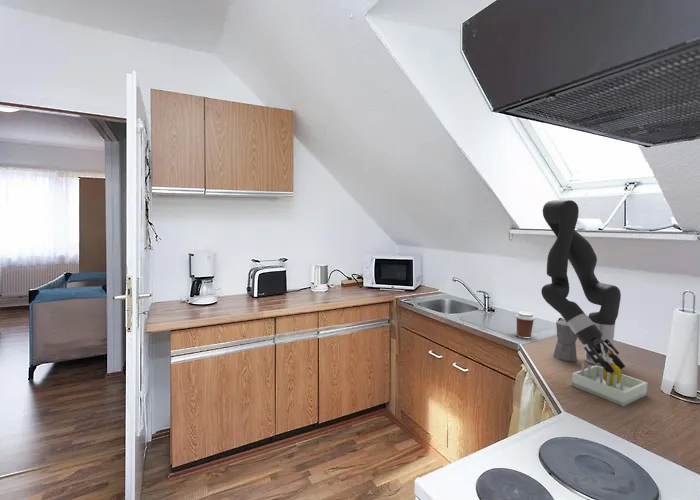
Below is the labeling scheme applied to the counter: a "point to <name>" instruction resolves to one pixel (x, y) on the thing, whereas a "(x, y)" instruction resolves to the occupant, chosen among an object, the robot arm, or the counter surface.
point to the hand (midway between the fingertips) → (617, 370)
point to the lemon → (617, 372)
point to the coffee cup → (524, 323)
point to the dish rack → (616, 393)
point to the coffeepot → (565, 342)
